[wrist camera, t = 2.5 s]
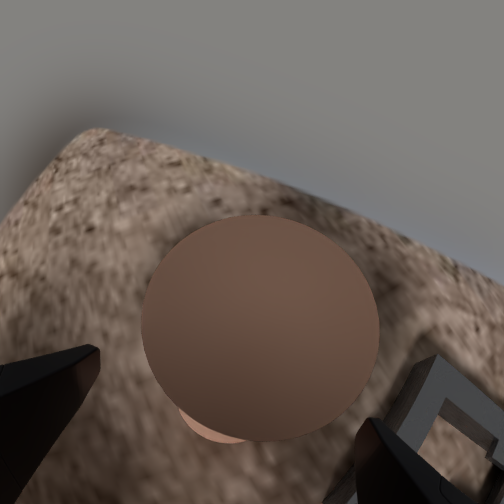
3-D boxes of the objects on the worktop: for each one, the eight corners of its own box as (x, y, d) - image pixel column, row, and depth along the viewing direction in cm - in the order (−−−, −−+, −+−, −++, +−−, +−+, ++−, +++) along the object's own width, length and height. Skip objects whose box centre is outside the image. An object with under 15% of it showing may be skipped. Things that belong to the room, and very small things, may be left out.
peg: (180, 442, 15) (69, 506, 2) (177, 349, 18) (101, 170, 5) (280, 437, 16) (458, 459, 3) (271, 346, 19) (383, 176, 6)
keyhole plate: (321, 503, 14) (339, 514, 11) (415, 363, 19) (439, 352, 17) (457, 559, 9) (479, 565, 6) (518, 448, 15) (540, 443, 12)
